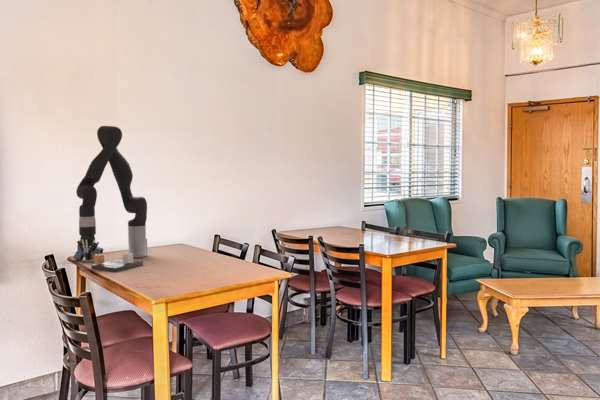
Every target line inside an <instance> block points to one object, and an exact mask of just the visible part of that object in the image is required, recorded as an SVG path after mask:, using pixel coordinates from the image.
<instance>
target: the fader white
mask: <svg viewBox="0 0 600 400" xmlns="http://www.w3.org/2000/svg"><path fill="white" fill-rule="evenodd" d="M122 259H123V263H132V262H133V260H134V257H133V253H129V252H126V253H123V254H122Z"/></svg>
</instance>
